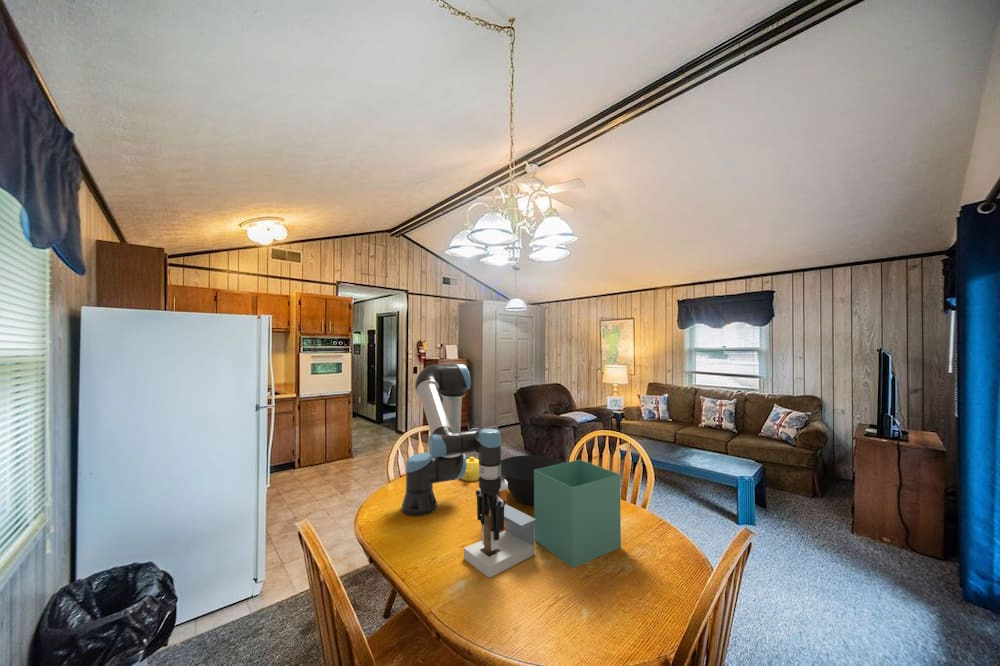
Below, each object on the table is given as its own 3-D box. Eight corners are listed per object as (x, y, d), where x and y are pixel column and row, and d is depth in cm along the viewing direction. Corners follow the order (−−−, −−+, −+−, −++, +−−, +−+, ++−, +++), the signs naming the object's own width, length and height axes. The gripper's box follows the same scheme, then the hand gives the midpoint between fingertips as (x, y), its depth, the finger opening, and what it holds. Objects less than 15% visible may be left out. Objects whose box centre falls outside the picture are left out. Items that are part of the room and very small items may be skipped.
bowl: (581, 493, 183) (581, 462, 184) (550, 523, 153) (550, 486, 154) (518, 479, 202) (518, 451, 203) (480, 503, 172) (479, 470, 173)
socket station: (462, 557, 129) (462, 520, 130) (506, 537, 142) (505, 504, 142) (491, 579, 117) (491, 538, 117) (536, 555, 130) (536, 519, 130)
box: (572, 568, 123) (572, 487, 124) (534, 540, 140) (533, 469, 141) (621, 547, 135) (620, 474, 136) (580, 523, 153) (579, 459, 153)
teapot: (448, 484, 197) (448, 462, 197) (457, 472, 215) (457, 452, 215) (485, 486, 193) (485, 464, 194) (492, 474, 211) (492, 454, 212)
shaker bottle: (505, 532, 146) (505, 480, 146) (483, 530, 148) (483, 479, 148) (509, 522, 154) (509, 472, 155) (488, 520, 156) (488, 471, 157)
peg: (491, 552, 130) (490, 511, 130) (498, 557, 127) (498, 515, 127) (482, 557, 127) (481, 515, 128) (489, 562, 124) (489, 519, 125)
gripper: (466, 472, 132) (466, 539, 131) (497, 486, 119) (497, 561, 118) (483, 467, 137) (483, 532, 136) (515, 480, 124) (515, 552, 123)
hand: (490, 545), depth 127 cm, fingers closed on peg, 4 cm apart
